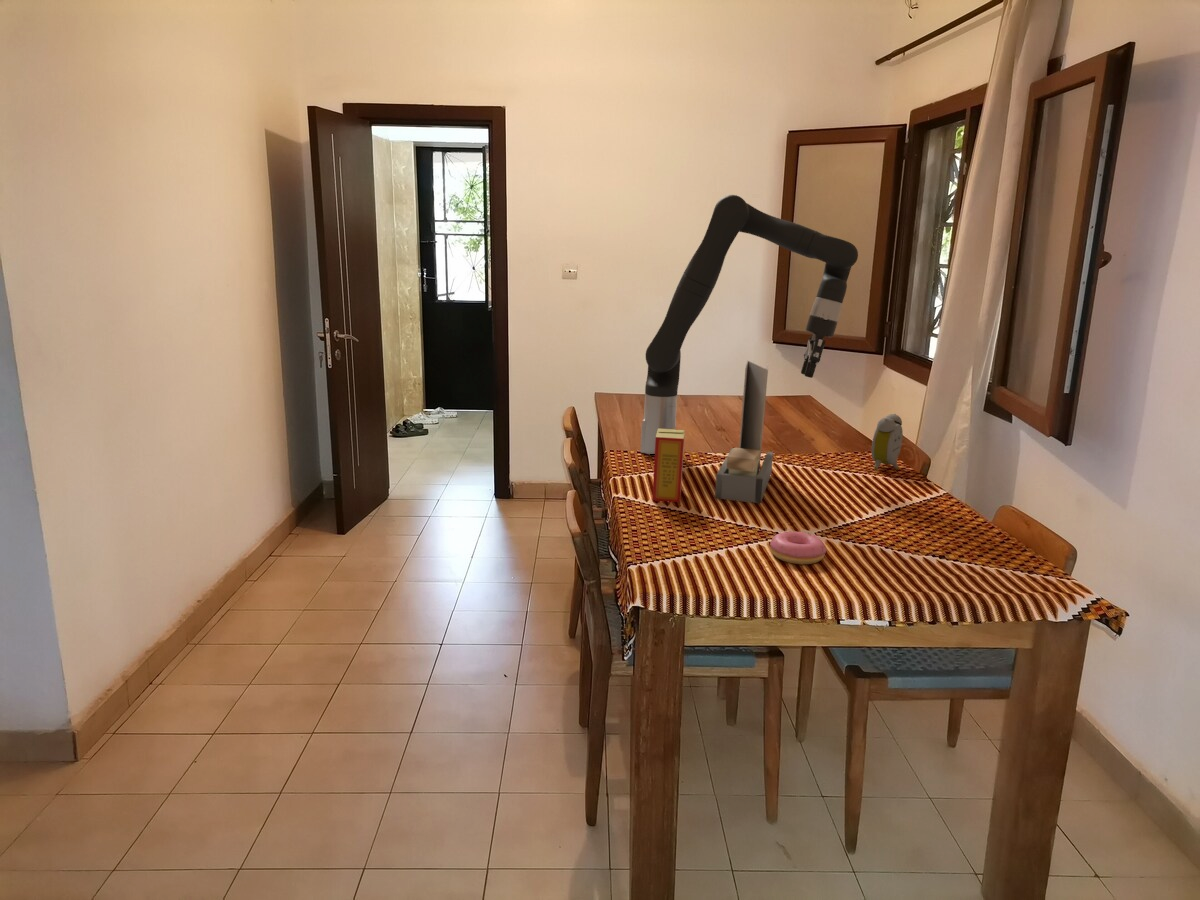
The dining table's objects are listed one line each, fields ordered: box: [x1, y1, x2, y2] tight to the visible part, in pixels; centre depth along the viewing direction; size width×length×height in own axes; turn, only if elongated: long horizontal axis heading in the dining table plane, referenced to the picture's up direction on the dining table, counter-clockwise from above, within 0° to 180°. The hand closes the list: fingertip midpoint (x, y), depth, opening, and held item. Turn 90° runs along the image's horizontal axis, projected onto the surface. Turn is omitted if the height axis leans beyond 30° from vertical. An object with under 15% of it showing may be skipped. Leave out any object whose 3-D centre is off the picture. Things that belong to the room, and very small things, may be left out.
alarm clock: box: [870, 413, 904, 471], centre depth 228 cm, size 12×7×15 cm, turn 145°
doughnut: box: [769, 531, 827, 565], centre depth 163 cm, size 11×11×4 cm
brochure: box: [738, 360, 769, 475], centre depth 213 cm, size 14×6×30 cm, turn 168°
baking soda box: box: [651, 428, 686, 503], centre depth 197 cm, size 10×6×16 cm
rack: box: [714, 447, 774, 504], centre depth 209 cm, size 11×27×6 cm, turn 163°
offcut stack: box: [726, 447, 761, 477], centre depth 202 cm, size 7×10×10 cm
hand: (806, 375), depth 222 cm, fingers open, 8 cm apart
